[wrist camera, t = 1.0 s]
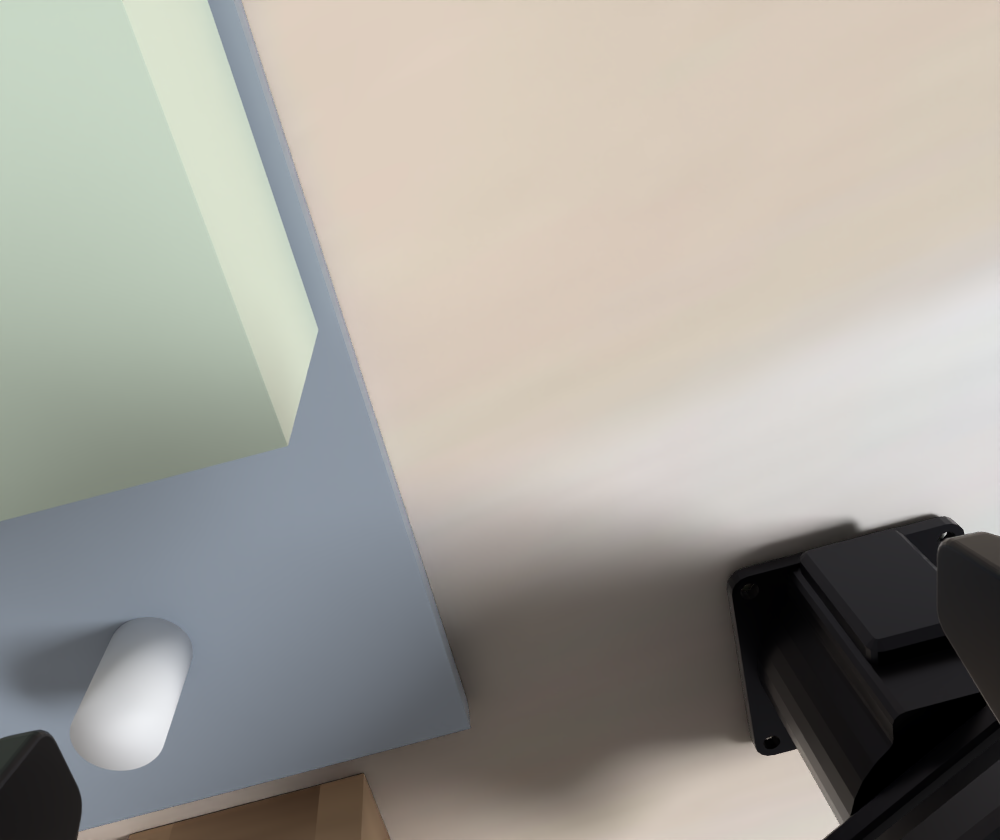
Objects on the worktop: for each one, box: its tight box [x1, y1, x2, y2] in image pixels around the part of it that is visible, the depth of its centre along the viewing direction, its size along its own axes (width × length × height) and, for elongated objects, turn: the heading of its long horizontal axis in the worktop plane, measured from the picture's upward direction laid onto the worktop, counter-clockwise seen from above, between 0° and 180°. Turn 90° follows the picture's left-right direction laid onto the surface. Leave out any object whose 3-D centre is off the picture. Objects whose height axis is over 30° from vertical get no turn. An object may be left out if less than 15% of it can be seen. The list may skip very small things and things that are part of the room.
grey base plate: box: [0, 0, 471, 831], centre depth 19 cm, size 22×14×4 cm, turn 13°
